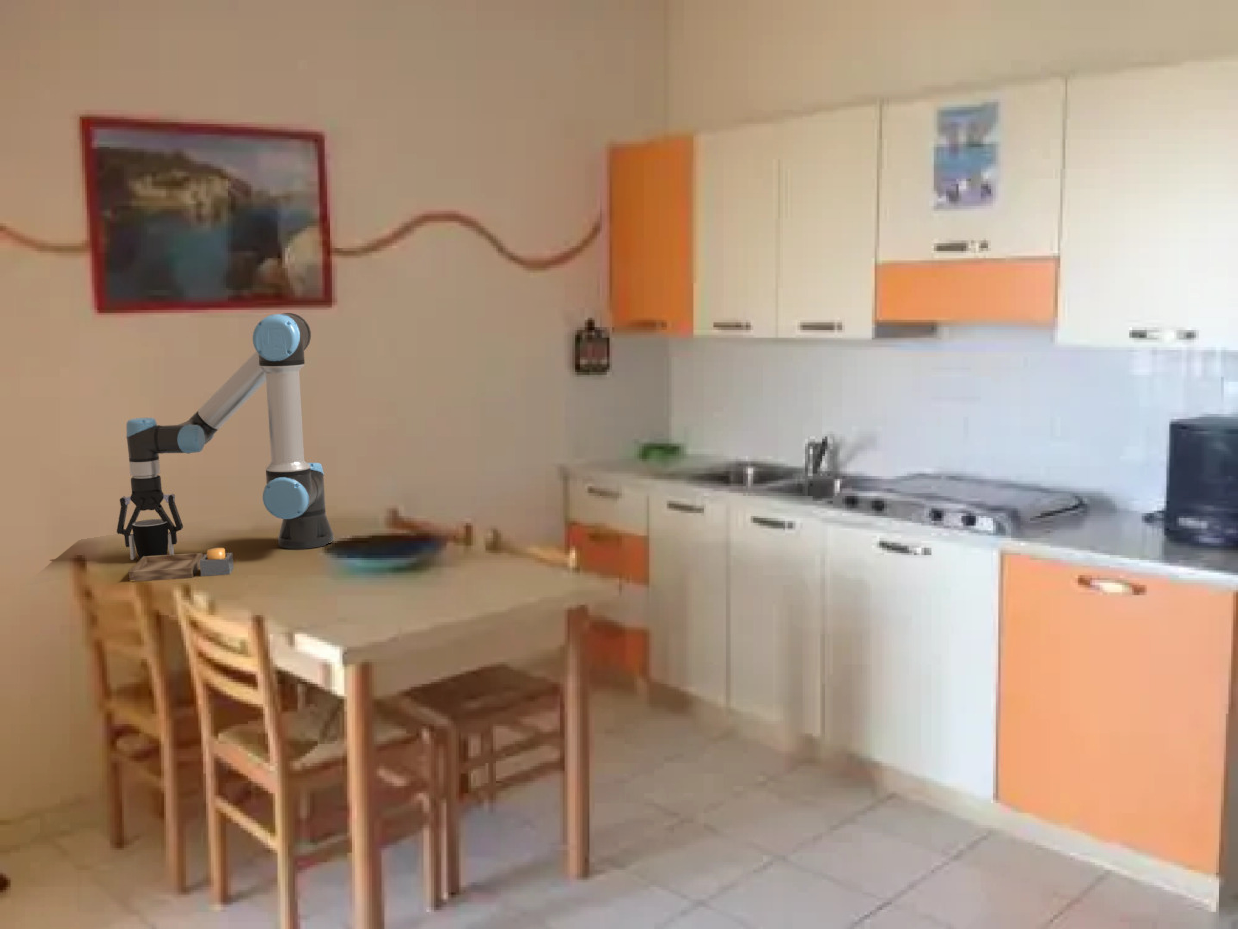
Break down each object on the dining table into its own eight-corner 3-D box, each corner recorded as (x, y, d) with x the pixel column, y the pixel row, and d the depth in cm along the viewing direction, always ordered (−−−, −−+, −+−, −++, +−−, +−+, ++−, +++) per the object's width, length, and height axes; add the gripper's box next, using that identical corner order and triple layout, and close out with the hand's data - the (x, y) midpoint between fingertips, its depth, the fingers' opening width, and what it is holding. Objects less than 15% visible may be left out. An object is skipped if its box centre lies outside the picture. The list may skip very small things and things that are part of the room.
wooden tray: (203, 562, 322) (202, 552, 321) (192, 577, 305) (191, 568, 305) (144, 565, 319) (143, 556, 319) (129, 581, 303) (128, 571, 302)
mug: (176, 558, 327) (173, 521, 325) (144, 564, 320) (141, 527, 319) (156, 552, 335) (153, 516, 333) (124, 558, 328) (121, 521, 327)
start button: (227, 566, 313) (225, 547, 312) (224, 570, 309) (223, 551, 308) (209, 567, 312) (208, 548, 311) (206, 571, 308) (205, 552, 307)
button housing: (233, 567, 314) (232, 552, 314) (229, 574, 308) (228, 559, 307) (205, 569, 313) (204, 554, 313) (201, 576, 306) (199, 560, 306)
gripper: (190, 471, 329) (197, 551, 333) (105, 475, 326) (113, 556, 329) (185, 476, 322) (192, 558, 326) (98, 480, 318) (106, 563, 322)
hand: (152, 557), depth 328 cm, fingers open, 9 cm apart
